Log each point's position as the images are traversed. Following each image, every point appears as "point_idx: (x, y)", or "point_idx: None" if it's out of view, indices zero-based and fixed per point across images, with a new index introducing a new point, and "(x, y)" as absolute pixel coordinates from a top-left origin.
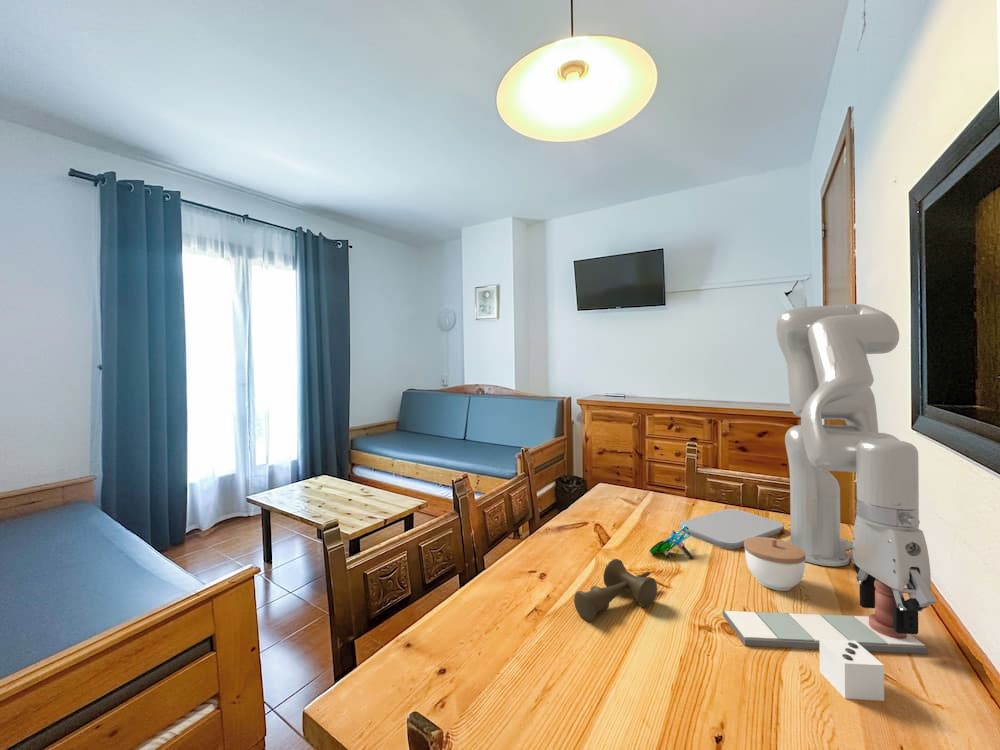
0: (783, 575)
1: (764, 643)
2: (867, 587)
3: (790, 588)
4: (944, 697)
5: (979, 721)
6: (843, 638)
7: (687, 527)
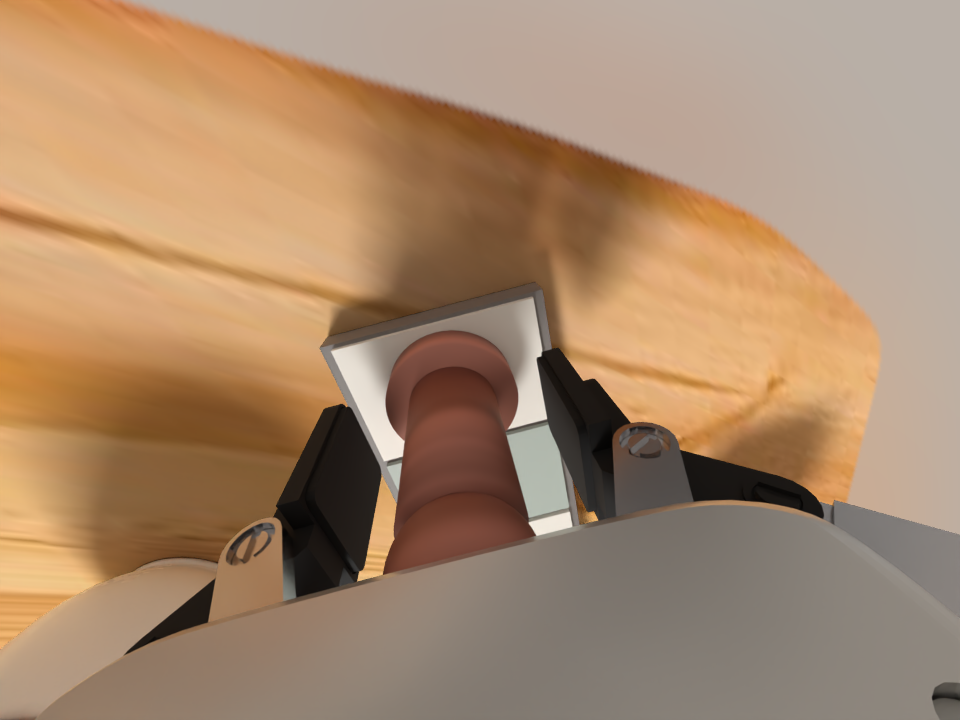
0: None
1: None
2: (353, 556)
3: (215, 567)
4: (747, 354)
5: (833, 318)
6: (557, 522)
7: None
